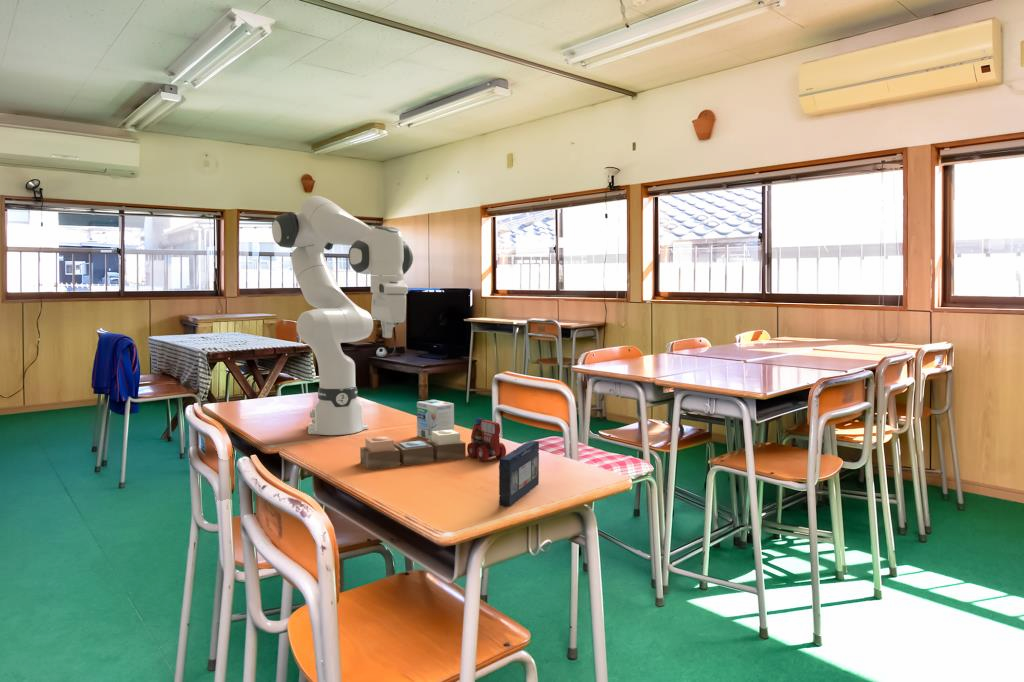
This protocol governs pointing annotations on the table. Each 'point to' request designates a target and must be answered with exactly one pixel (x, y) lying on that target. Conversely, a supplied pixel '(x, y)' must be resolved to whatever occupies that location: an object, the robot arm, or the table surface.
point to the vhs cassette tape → (518, 473)
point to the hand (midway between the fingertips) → (387, 337)
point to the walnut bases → (412, 455)
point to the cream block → (445, 437)
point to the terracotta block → (379, 444)
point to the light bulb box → (434, 417)
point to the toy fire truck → (485, 441)
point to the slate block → (413, 444)
